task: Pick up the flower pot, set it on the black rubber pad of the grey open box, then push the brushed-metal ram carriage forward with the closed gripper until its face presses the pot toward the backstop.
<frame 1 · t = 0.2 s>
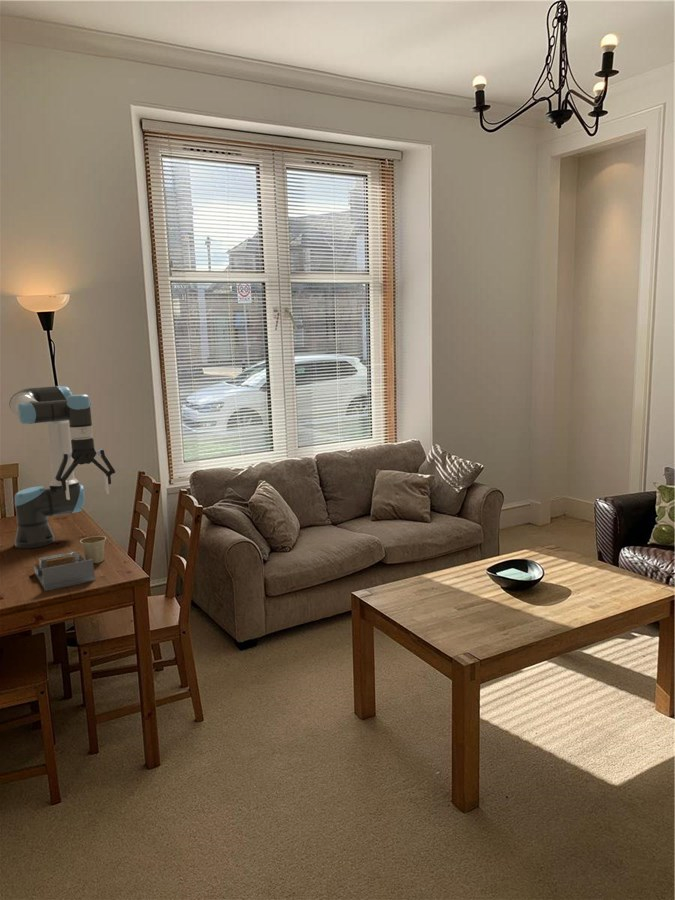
hand: (88, 496, 239), 27 cm above the table, fingers open, 13 cm apart
grey open box: (64, 576, 233), on the table
flower pot: (95, 562, 250), on the table
ram: (59, 561, 238), point 4 cm above the table, slide at 0.0 cm
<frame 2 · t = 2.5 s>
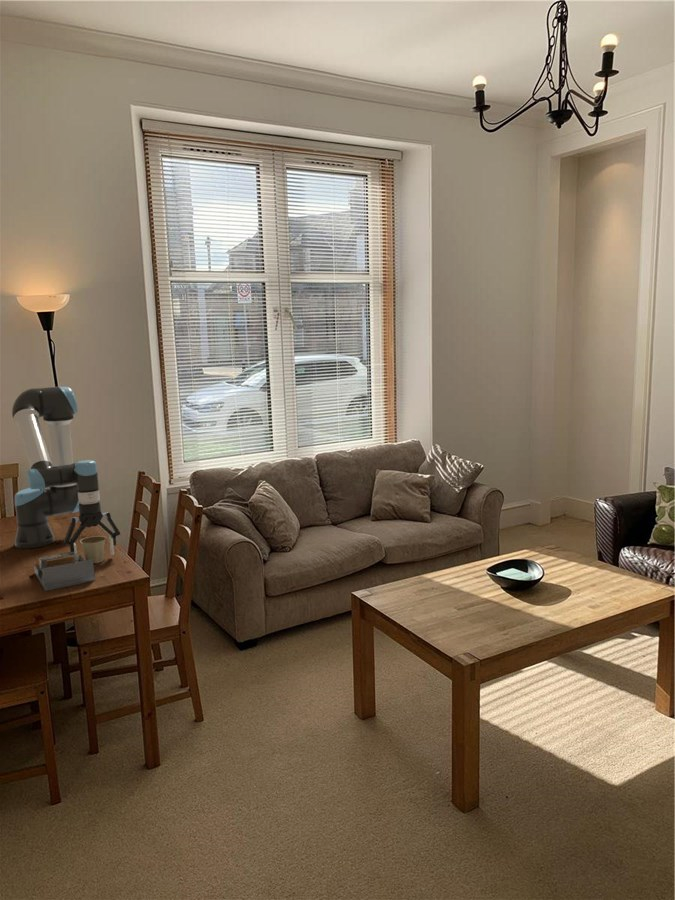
hand: (94, 557, 249), 2 cm above the table, fingers open, 13 cm apart
nothing on the table moved.
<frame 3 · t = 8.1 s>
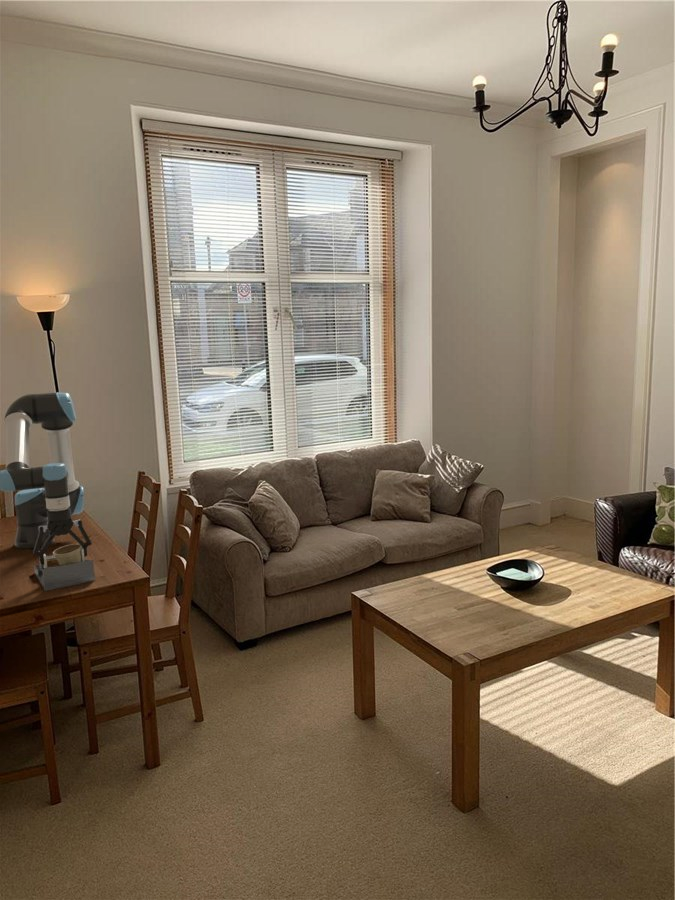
hand: (65, 569, 230), 4 cm above the table, fingers open, 11 cm apart
flower pot: (73, 572, 232), point 2 cm above the table, touching gripper
everything else where it was.
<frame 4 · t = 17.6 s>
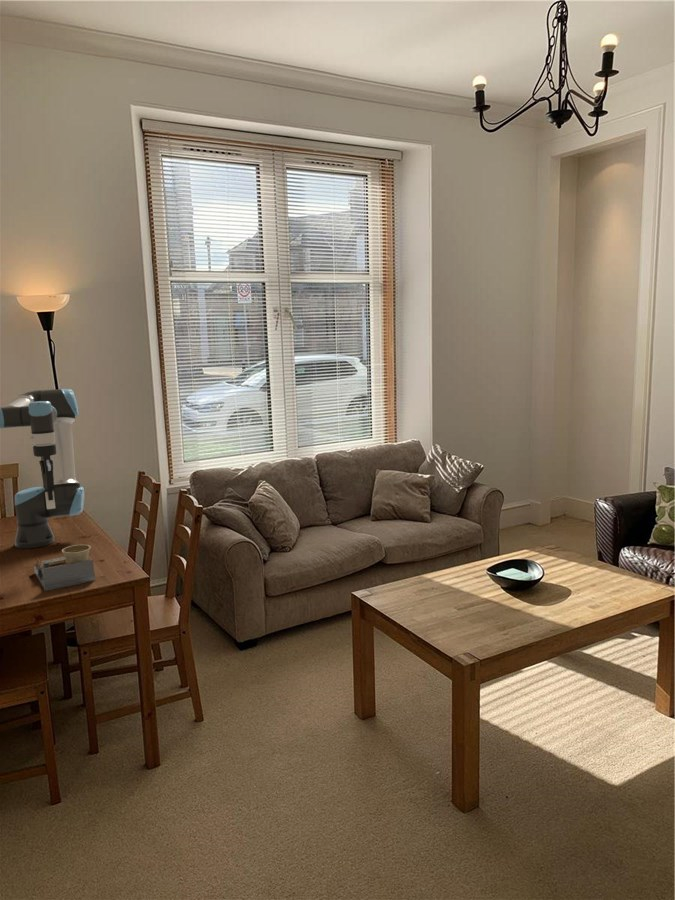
hand: (51, 508, 241), 22 cm above the table, fingers closed
flower pot: (78, 572, 232), point 2 cm above the table, touching grey open box, ram
ram: (62, 564, 235), point 4 cm above the table, slide at 4.7 cm, touching flower pot
at the end: flower pot inside the target area (3.3 cm from its centre), point 1.6 cm above the table; flower pot tilted 0°; ram slide at 4.7 cm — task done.
